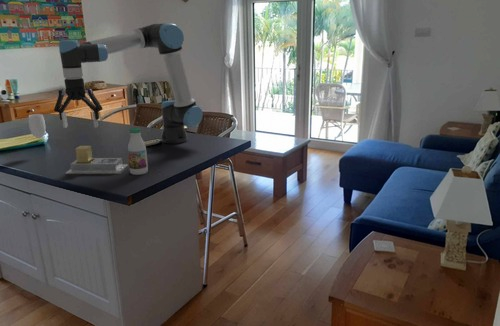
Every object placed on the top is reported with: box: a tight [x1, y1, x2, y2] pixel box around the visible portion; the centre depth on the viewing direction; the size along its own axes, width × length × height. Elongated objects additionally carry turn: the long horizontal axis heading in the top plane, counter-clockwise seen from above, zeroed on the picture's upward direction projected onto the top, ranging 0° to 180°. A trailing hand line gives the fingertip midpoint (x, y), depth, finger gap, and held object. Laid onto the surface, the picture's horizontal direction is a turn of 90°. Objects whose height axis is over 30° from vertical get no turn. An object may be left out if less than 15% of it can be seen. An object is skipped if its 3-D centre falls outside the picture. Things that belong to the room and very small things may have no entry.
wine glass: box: [28, 113, 46, 139], centre depth 202 cm, size 7×7×21 cm
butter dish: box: [65, 157, 129, 175], centre depth 182 cm, size 24×12×4 cm, turn 89°
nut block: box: [75, 145, 94, 163], centre depth 181 cm, size 5×5×10 cm
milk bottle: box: [127, 127, 149, 176], centre depth 176 cm, size 8×8×20 cm
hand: (81, 127), depth 177 cm, fingers open, 13 cm apart
